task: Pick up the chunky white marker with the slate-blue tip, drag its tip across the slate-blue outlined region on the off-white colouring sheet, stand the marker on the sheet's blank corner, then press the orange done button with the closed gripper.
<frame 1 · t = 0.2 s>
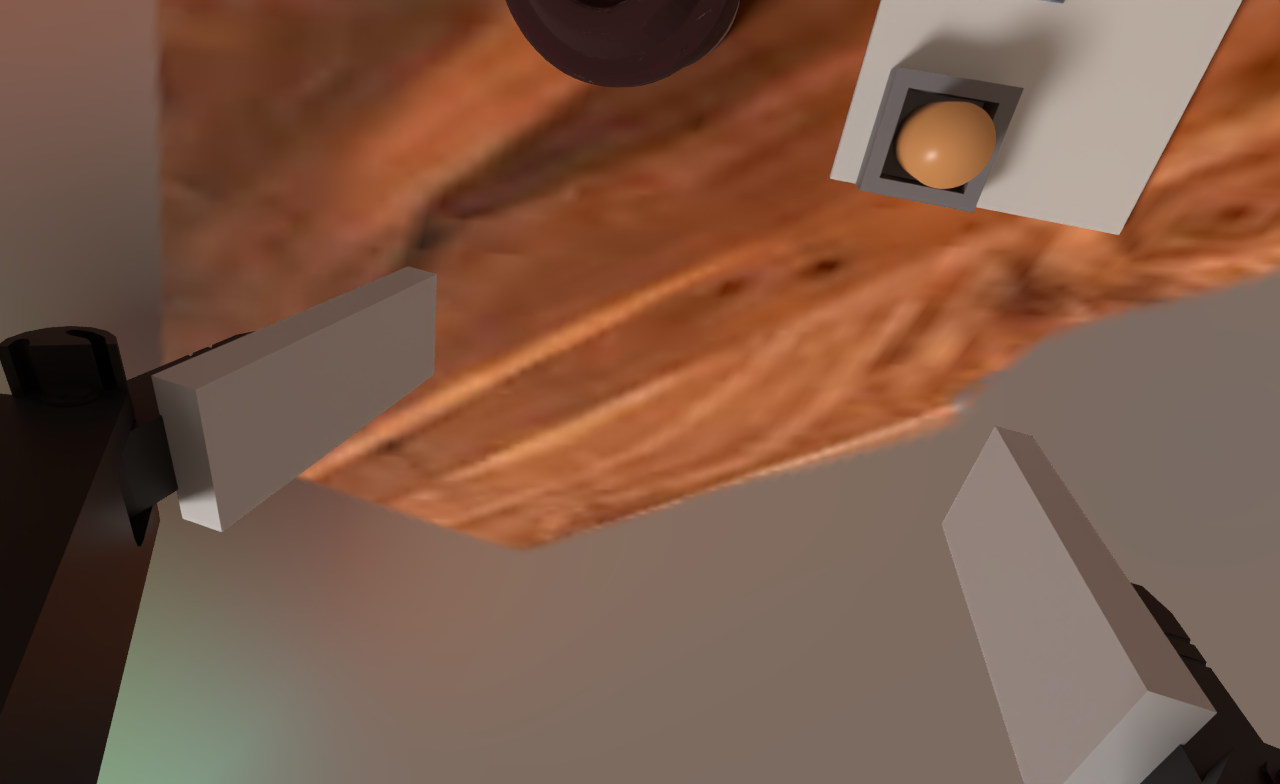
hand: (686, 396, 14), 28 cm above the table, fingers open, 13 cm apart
done button: (940, 143, 31), point 5 cm above the table, slide at 0.0 cm
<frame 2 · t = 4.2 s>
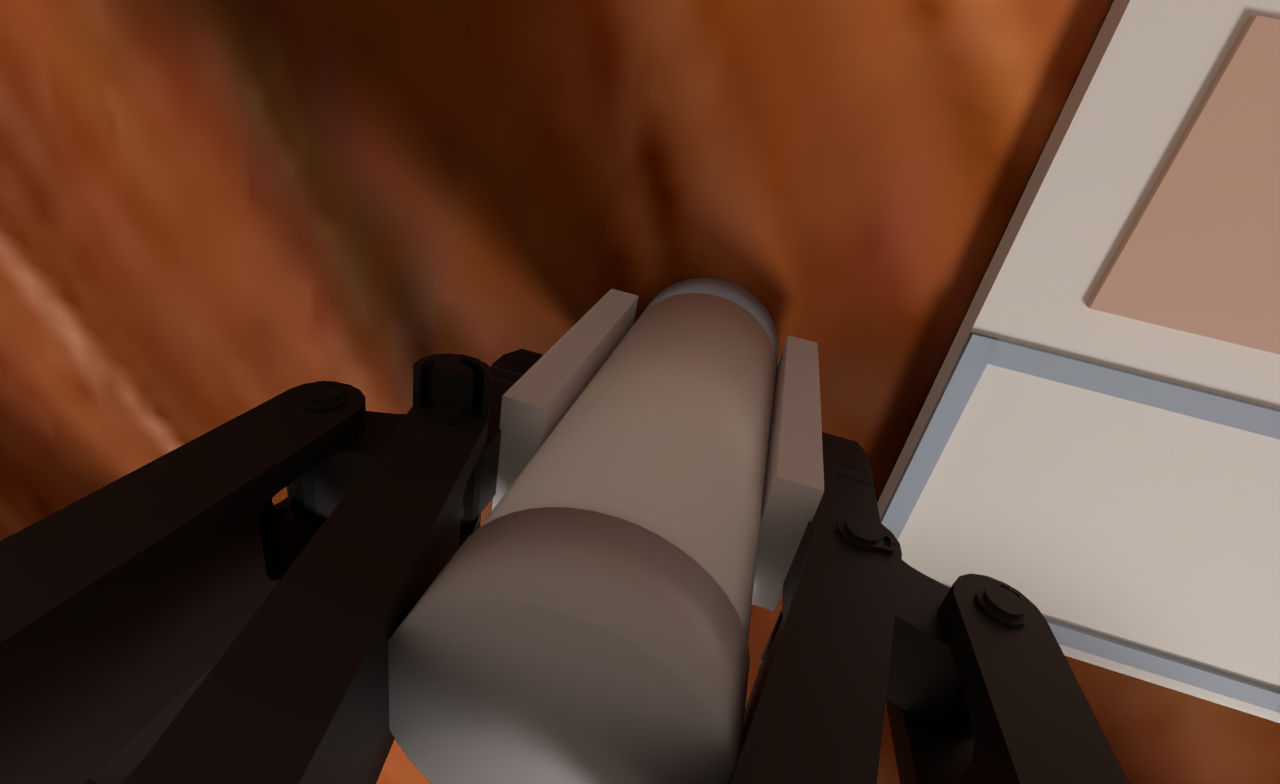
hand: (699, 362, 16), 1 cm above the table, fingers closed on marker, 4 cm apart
marker: (705, 347, 17), on the table, touching gripper
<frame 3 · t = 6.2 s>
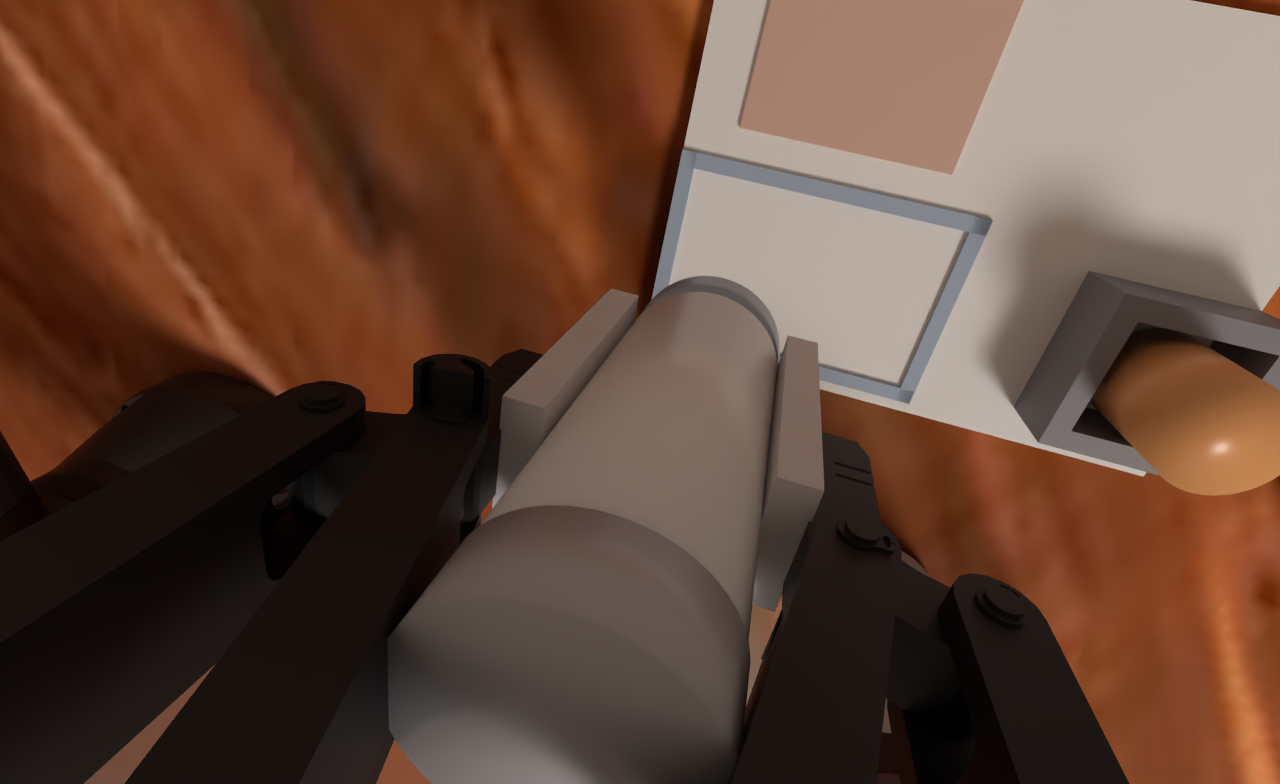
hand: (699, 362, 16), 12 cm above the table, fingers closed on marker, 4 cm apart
coffee cup: (859, 587, 33), on the table
done button: (1181, 405, 20), point 5 cm above the table, slide at 0.0 cm
marker: (706, 346, 17), point 11 cm above the table, touching gripper
sheet board: (954, 222, 24), on the table
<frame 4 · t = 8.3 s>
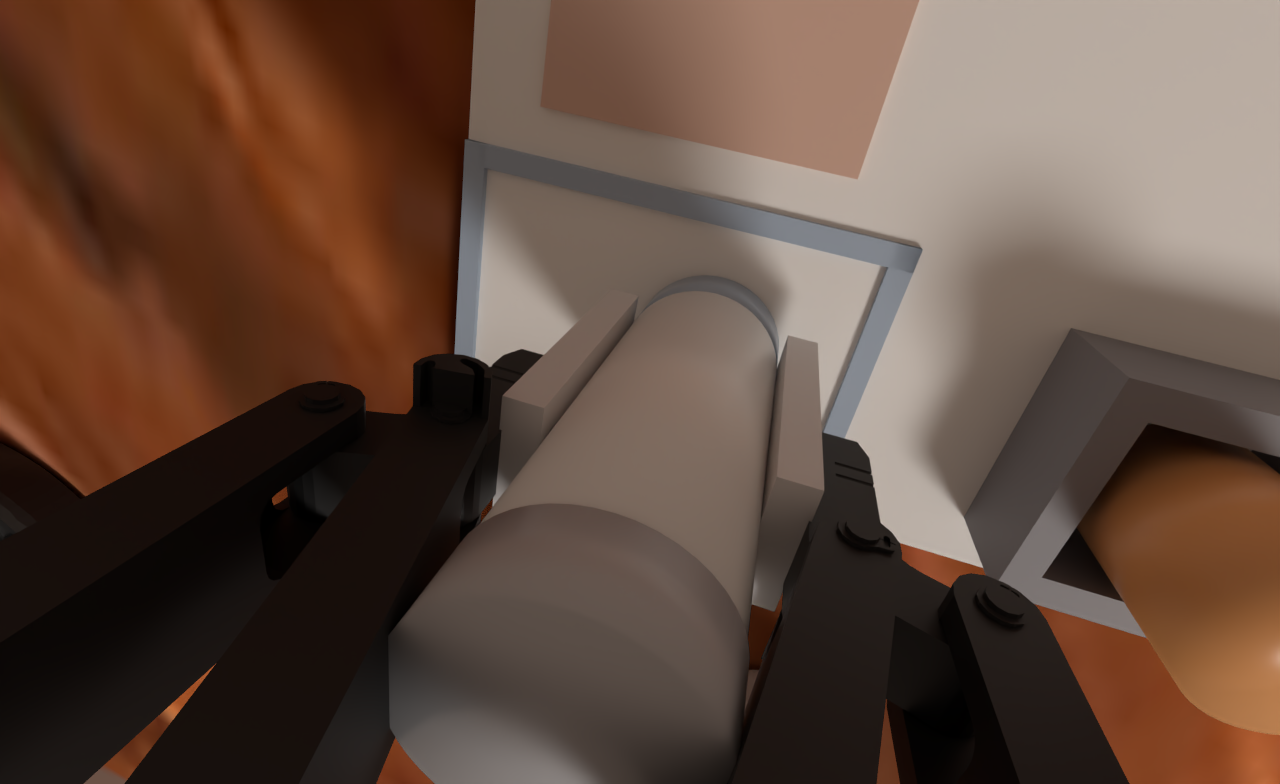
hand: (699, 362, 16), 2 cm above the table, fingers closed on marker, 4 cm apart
done button: (1219, 560, 12), point 5 cm above the table, slide at 0.0 cm
marker: (706, 345, 17), point 1 cm above the table, touching gripper
sheet board: (869, 250, 16), on the table
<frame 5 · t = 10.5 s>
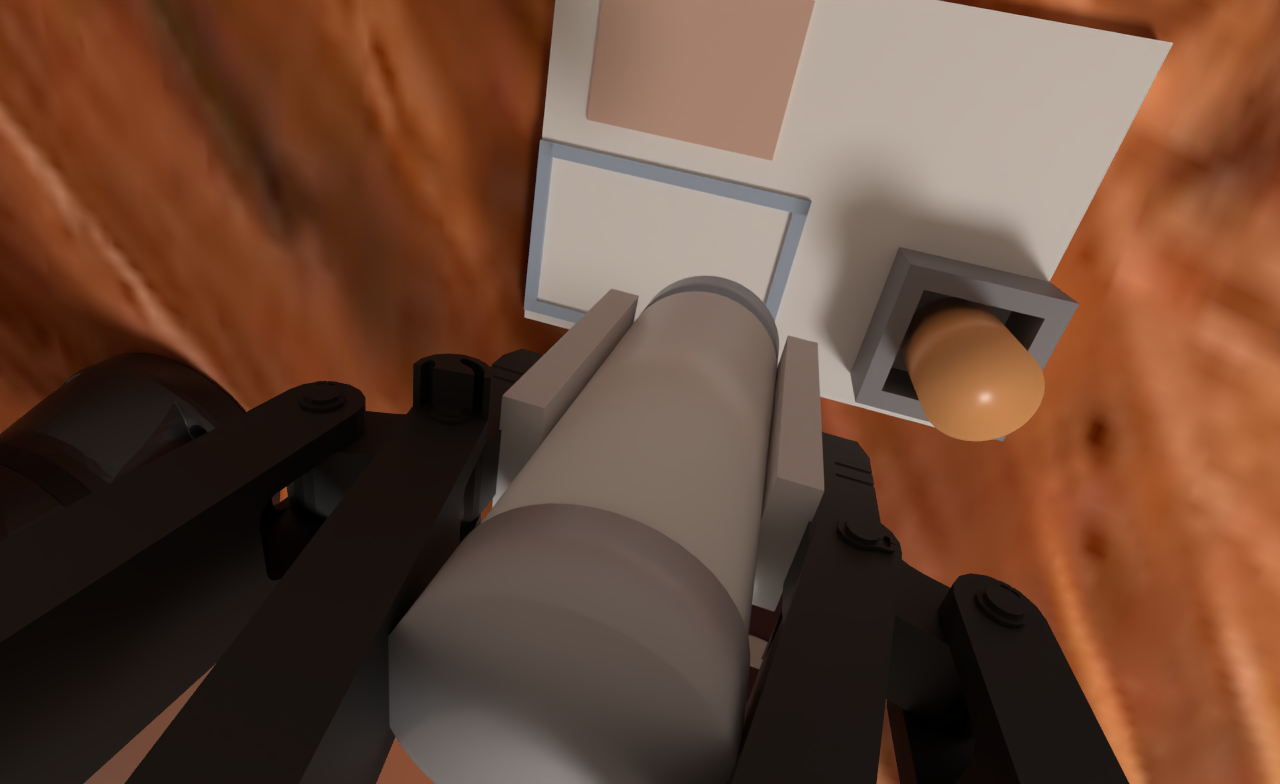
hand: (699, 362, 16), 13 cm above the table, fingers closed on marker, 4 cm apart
coffee cup: (740, 548, 35), on the table
done button: (963, 364, 23), point 5 cm above the table, slide at 0.0 cm
marker: (706, 345, 17), point 12 cm above the table, touching gripper
sheet board: (784, 204, 26), on the table
when the fingers open (3 cm above the table, at t = 12.5 s): marker stays where it is, resting on sheet board.
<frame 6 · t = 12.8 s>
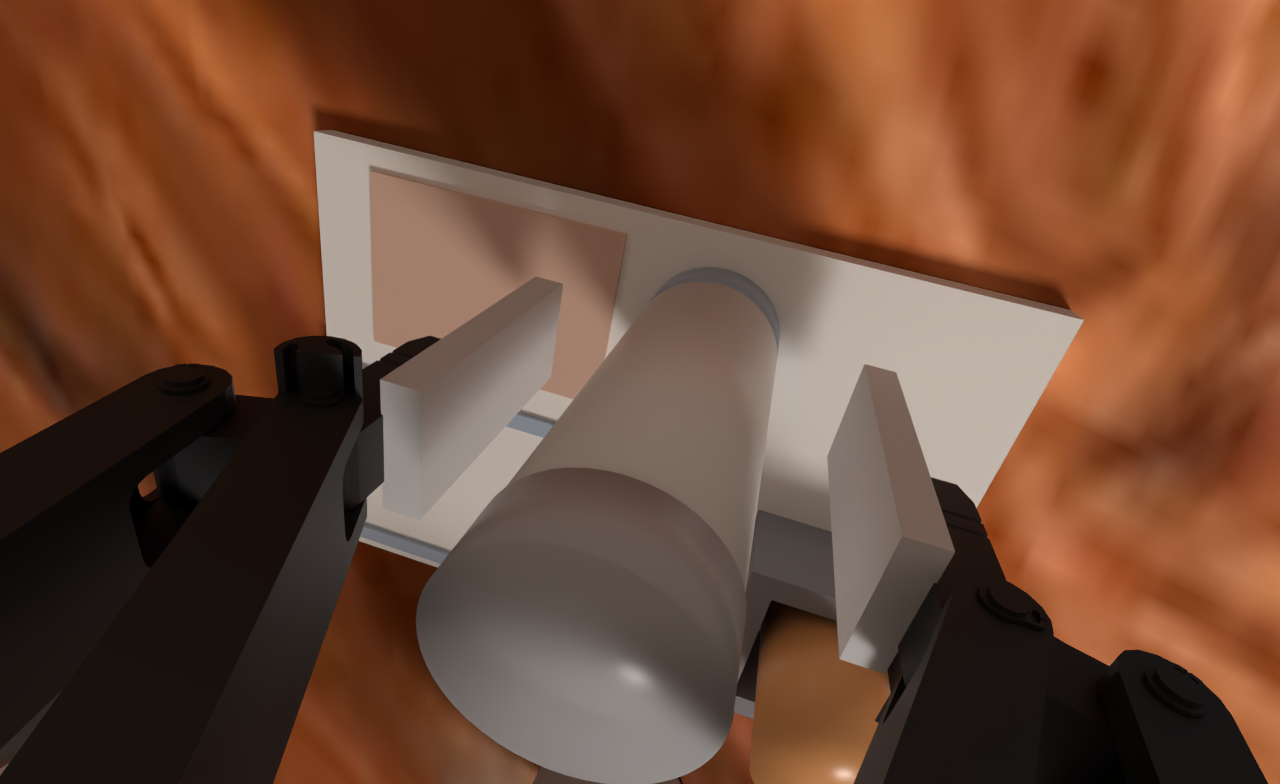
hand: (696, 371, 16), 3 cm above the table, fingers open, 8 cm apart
coffee cup: (617, 775, 30), on the table
done button: (822, 696, 18), point 5 cm above the table, slide at 0.0 cm
marker: (710, 334, 18), point 1 cm above the table, touching sheet board
sheet board: (624, 442, 21), on the table
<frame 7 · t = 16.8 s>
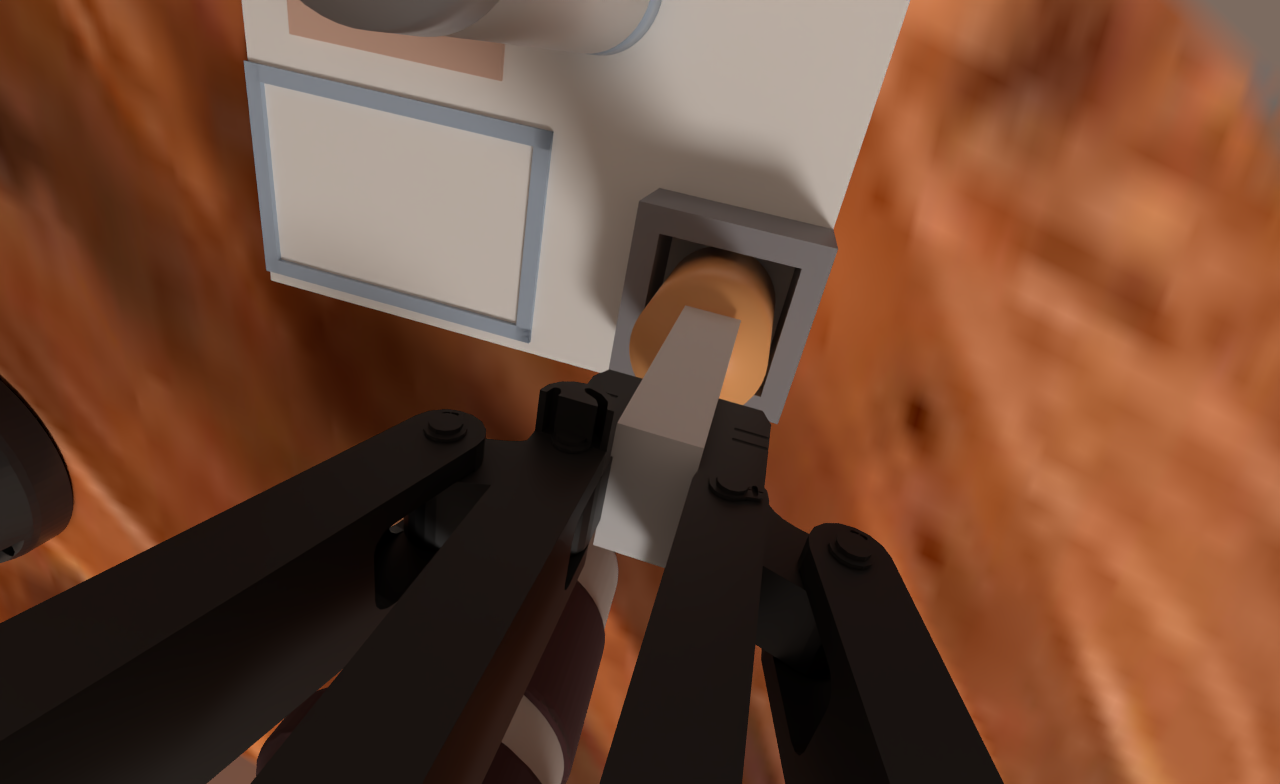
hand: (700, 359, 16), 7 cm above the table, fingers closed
coffee cup: (552, 550, 31), on the table
done button: (709, 325, 19), point 4 cm above the table, slide at 0.1 cm, touching gripper
sheet board: (534, 139, 22), on the table
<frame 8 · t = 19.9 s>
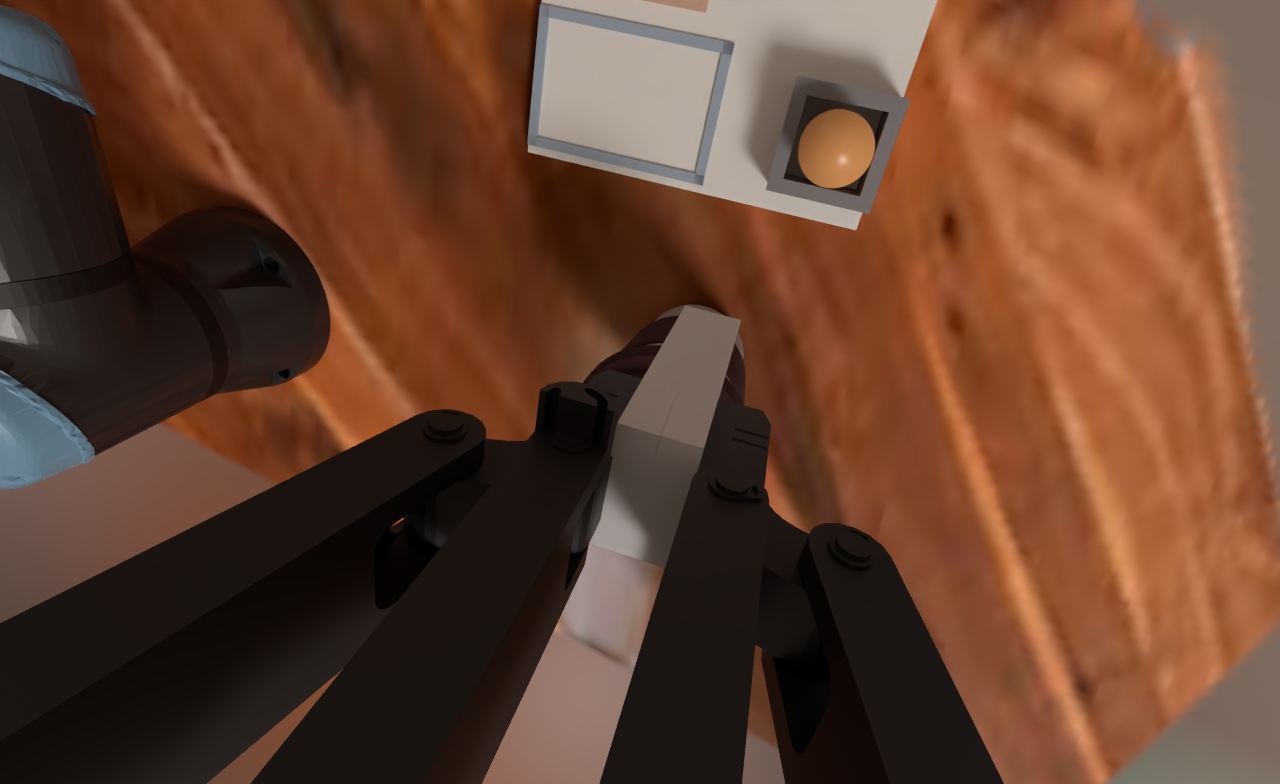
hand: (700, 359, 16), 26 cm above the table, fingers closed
coffee cup: (694, 348, 45), on the table
done button: (833, 146, 34), point 4 cm above the table, slide at 1.1 cm
sheet board: (717, 51, 36), on the table
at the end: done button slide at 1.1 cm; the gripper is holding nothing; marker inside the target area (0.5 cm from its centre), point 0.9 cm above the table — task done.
